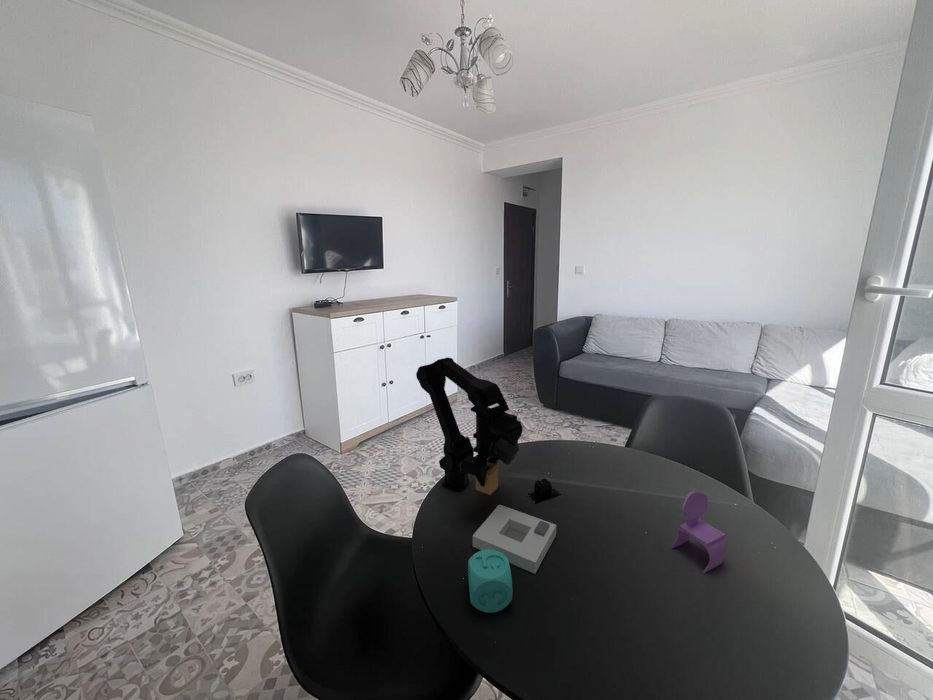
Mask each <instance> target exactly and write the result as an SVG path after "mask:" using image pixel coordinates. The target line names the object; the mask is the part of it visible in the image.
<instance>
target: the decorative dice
mask: <svg viewBox="0 0 933 700" xmlns="http://www.w3.org/2000/svg"><path fill="white" fill-rule="evenodd" d="M467 570H468V571H467V572H468V587H469V589H468V590H469V591H468V592H469V597H470V598H469V600H470V604H471V605H472V607H474V608H475V609H477V610H479V611H480V612H483V613H490V614H493V613H497V612H500V611H502V610H504V609H505V608H506V607H507V606H508V605H509V604H510V603H511V602H512V600H513V579H512V573H511V572H512V571H511V566H510V563H509V561H508V558H507V557H506V556H505V555H504V554H502V553H500V552H499V551H496V550H492V549H485V550H479V551H476V553H474V554H473V555H472V556H470V557H469V559H468V560H467Z"/></svg>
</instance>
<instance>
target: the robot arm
mask: <svg viewBox="0 0 933 700" xmlns="http://www.w3.org/2000/svg"><path fill="white" fill-rule="evenodd" d="M415 377H416V379H417V381H418V383H419V384H420V387H421V389H422V390H423V391H424V392H426V393H427V394H428V395H429V397H430V400H431V403H432V405H433V408H434V412H435V414H436V417H437V420H438V423H439V425H440V428H441V432H442V434H443V437H444V443H443V448H442V450H443V455H444V456H442V457H441V458H440V459H439V460H438V463H439V468H441V469H442V470H443V471H444V481H443V482H442V483H441V486H442V487H445V488H447V489H450V490H453V491H456V492H460V491H462V489H464V488H465V487H466V486H467V485H468V484H469V483H470V482H471V480H470V479H469V475H472V476H475V479H476V478H477V480H478V482H479V484H480V485H481V486H483V487H484V486H485V481H486V472H487V471H488V470H489V469H490V468H491V467H490V466H487V463H488V462H491V463H494V464H497V465H498V463H499V461H501V462H502V463H503V464H504V465H510V464H511V463H512V462H513V461H514V459H515V458H516V455H517V453H518V452H519V451H520V449H519V448H520V446H519V440H520V438H521V437H522V434H523V429H524V427H523V425H522V423H521V421H520V420H518V416H517V415H516V414H511V413H508V412H507V411H509V410H510V407H509V405H508V402H507V401H506V398H505V397H504V395H503V393H502V391H501V388H500V386H499V385H498V384H497V383H494V381H493V382H492V381H490V380H488V379H481V378H478V377H477V376H476V375H474V374H472V373H471V372H469V371H468V370H466V369H465V368H464V367H462V366H461V365H460V364H458V363H456V362H455V361H454V359H453V358H451V357H449V356H448V357H445V358H439V359H437V360H435V361H433V362H431V363H429V364H425V365H421V366H419V367H418V368H417V371H416V372H415ZM447 379H449V380H450V381H451V382H452V383H454V385H456V386H457V387H459V388H460V389H461V390H463V391H464V392H465V393H466V394H467V399H468V401H470V403H472V405H473V406H472V407H471V408H470V411H471V412H473V413H475V433H473V434H472V438H473V439H475V443H476V444H475V446H473V445H472V443H471V439H470V437H469V436H464V434H462V433H461V431H460V428H459V425H458V423H457V421H456V417H455V414H454V412H453V409H452V406H451V403H450V401H449V398H448V395H447V392H446V389H445V388H446V387H445V386H446V382H447ZM497 404H498V405H497ZM495 405H497V406H495ZM492 406H494V407H492ZM475 453H477V454H476V455H475Z"/></svg>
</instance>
